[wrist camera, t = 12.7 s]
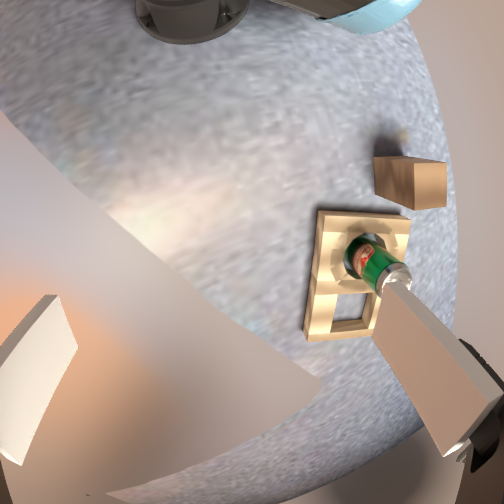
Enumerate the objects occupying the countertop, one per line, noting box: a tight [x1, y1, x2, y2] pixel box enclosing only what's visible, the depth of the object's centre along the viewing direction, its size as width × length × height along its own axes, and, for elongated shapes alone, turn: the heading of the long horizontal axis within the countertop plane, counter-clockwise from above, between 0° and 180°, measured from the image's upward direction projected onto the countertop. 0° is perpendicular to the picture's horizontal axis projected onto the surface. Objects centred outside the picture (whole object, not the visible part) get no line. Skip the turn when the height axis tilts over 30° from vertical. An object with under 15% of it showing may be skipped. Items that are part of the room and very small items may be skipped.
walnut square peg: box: [373, 156, 447, 211], centre depth 32 cm, size 6×6×10 cm
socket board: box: [303, 210, 411, 342], centre depth 41 cm, size 20×14×3 cm
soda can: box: [344, 235, 412, 298], centre depth 35 cm, size 5×5×12 cm
